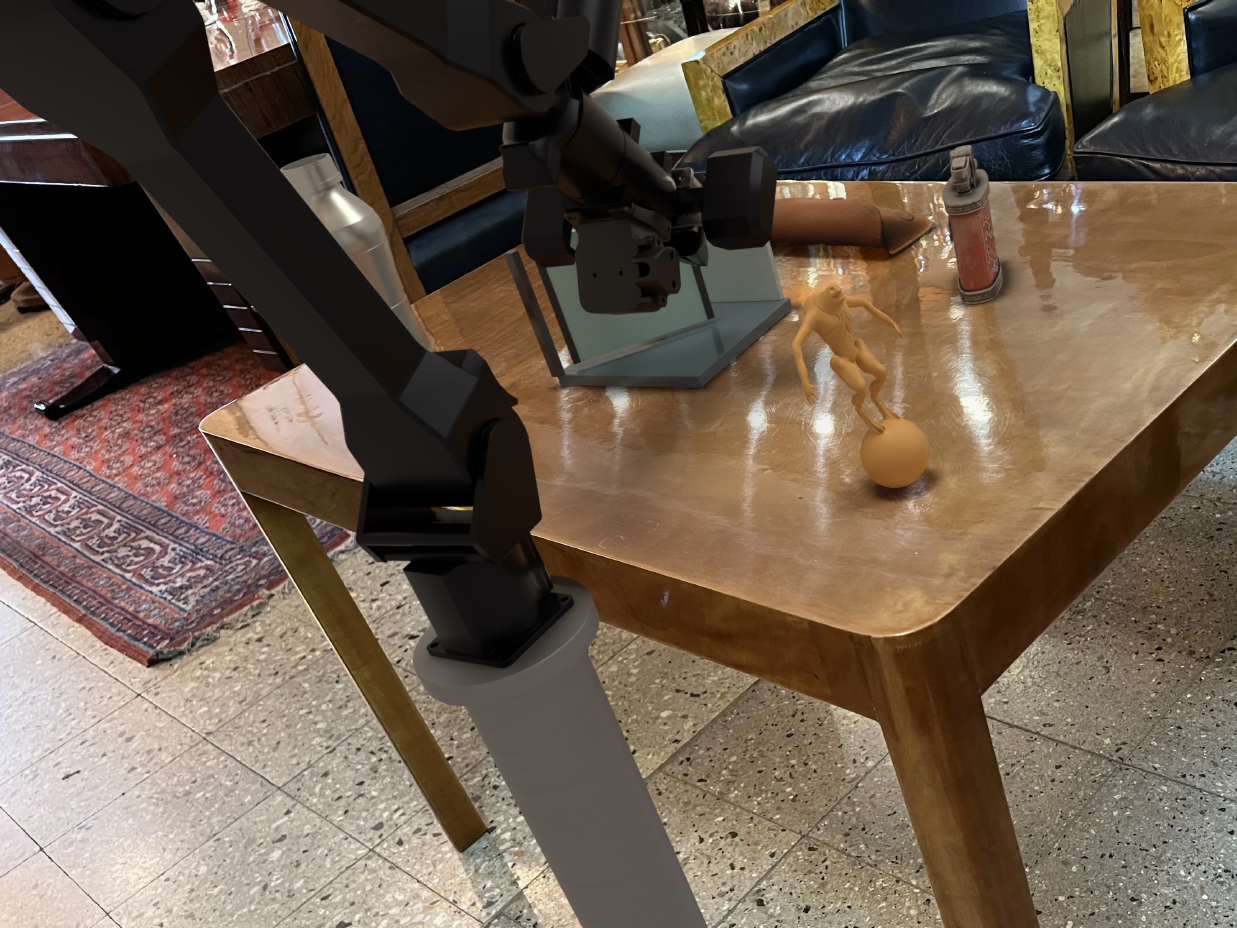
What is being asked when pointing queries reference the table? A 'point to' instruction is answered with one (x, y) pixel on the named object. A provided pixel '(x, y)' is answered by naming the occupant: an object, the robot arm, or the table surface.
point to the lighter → (972, 228)
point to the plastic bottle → (354, 232)
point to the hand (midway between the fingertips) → (703, 260)
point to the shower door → (614, 332)
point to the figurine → (863, 388)
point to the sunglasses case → (845, 224)
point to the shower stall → (687, 355)
